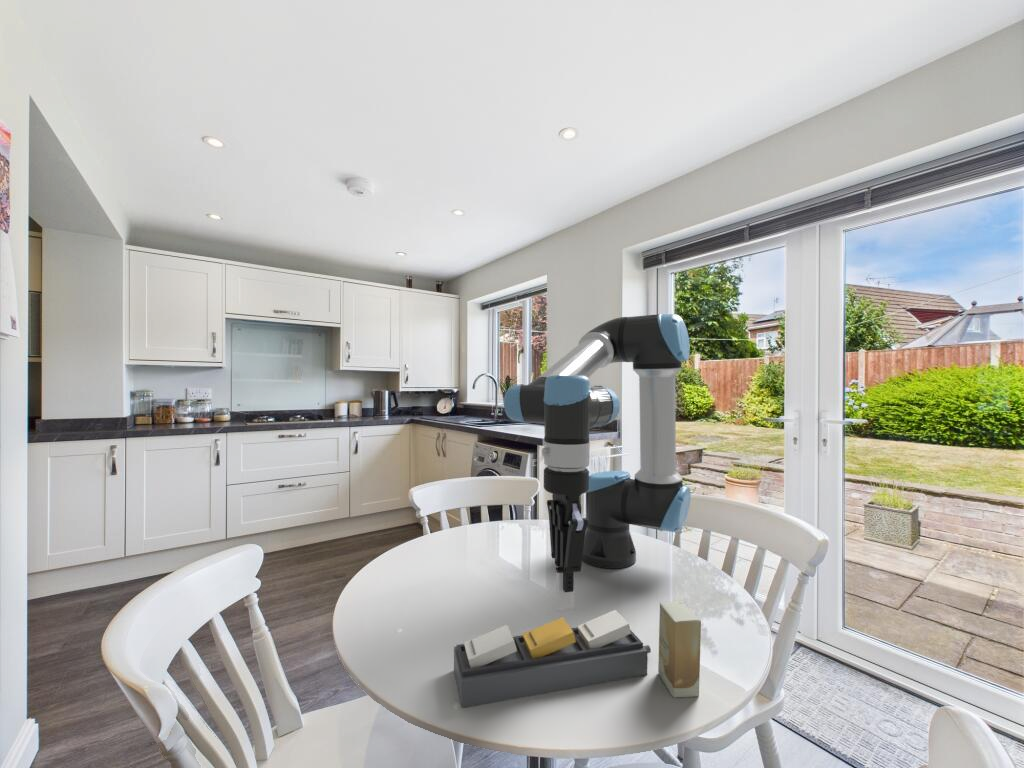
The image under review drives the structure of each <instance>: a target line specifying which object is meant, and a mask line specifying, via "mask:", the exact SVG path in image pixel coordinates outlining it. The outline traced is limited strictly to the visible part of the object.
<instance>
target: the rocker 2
mask: <svg viewBox="0 0 1024 768" xmlns="http://www.w3.org/2000/svg"><path fill="white" fill-rule="evenodd" d="M577 627H578V631H579V635H580V637H581V638H582V639H583V641H584V642H585V644H586V645H587V647H588V648H589V649H595V648H600V647H602V646H604V645H607V644H609V643H611V642H613V641H616V640H618V639H620V638H622V637H625V636H627V635H629V634H631V631H632V630H631V628H630V623H628V621H627V620H626V619H625V618H624V617H623V615H621V614H620V613H619V612H618V610H616V609H614V610H611V611H609V612H606V613H604V614H602V615H600V616H598V617H595V618H592V619H591V620H590V619H589V620H588V621H585V622H584V623H582V624H579V625H577ZM577 627H576V628H577ZM630 630H631V631H630Z"/></svg>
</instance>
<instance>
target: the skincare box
mask: <svg viewBox="0 0 1024 768" xmlns="http://www.w3.org/2000/svg"><path fill="white" fill-rule="evenodd" d="M658 622H659V628H658V634H659V635H658V662H657V663H658V664H657V667H658V669H657V670H658V671H657V672H658V675H659V676H660V678H661V680H662V682H663V683H664V684H665V687H666V688H667V690H668V691H669V693H670V694H671V696H672V697H673V698H691V697H699V696H700V679H701V678H700V670H701V639H702V638H701V637H702V636H701V635H702V633H701V632H702V620H701V619H700V618H699V616H697V614H696V613H695V612H694V610H693V609H691V608H690V606H688V604H687V603H686V602H685V601H684V600H677V601H676V600H674V601H660V602H659V621H658Z"/></svg>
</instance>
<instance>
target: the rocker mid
mask: <svg viewBox="0 0 1024 768" xmlns="http://www.w3.org/2000/svg"><path fill="white" fill-rule="evenodd" d="M522 635H523V638H524V642H525V645H526V647H527V649H528V651H529V653H530V655H531V657H532V658H538V657H543V656H545V655H547V654H550V653H552V652H554V651H557V650H559V649H561V648H563V647H566V646H568V645H570V644H573V643H575V642H576V640H575V636H574V632H573V631H572V629H571V626H570V625H569V624H568V622H567V620H566V619H565V618H564V617H563V616H561V617H560V618H556V619H554V620H552V621H550V622H547V623H545V624H543V625H541V626H538V627H536V628H533V629H531V630H528V631H526V632H524V633H522ZM522 635H521V636H522Z"/></svg>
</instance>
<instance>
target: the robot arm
mask: <svg viewBox="0 0 1024 768" xmlns="http://www.w3.org/2000/svg"><path fill="white" fill-rule="evenodd" d="M690 346H691V345H690V338H689V332H688V329H687V326H686V323H685V322H684V320H683V318H682V317H681V316H680V315H679V314H675V313H660V314H659V313H658V314H657V313H656V314H648V315H636V316H635V315H634V316H621V317H617V318H613V319H610V320H608V321H605V322H604V323H602V324H601V323H600V325H597V326H595V327H594V328H592V329H591V330H589V331H588V332H586V333H585V334H584V335H583V336H581V338H580V339H579V341H578V344H577V346H575V347H573V349H571V350H570V351H568V353H567V354H565V355H564V356H563V357H561V358H560V359H559V360H558V361H556V362H555V363H554V364H553V365H551V367H549V368H548V369H547V370H544V372H543V373H541V374H540V375H539V376H538V377H537V378H535V379H534V380H533V381H532V382H530V383H528V384H516V385H515V384H514V385H512V386H510V387H509V388H508V389H507V390H506V392H505V394H504V397H503V408H504V413H505V414H506V416H507V418H508V419H510V420H512V421H514V422H521V423H524V424H527V423H530V424H531V423H532V424H544V438H543V439H544V441H543V442H544V443H543V445H544V447H543V448H541V453H542V454H543V464H545V466H546V467H545V468H544V469H543V489H544V490H545V491H546V492H547V493H549V494H551V495H552V496H551V498H552V499H547V500H546V506H547V512H548V524H549V536H550V537H549V539H550V542H549V543H550V551H551V552H550V555H551V558H552V559H554V566H555V571H556V572H555V573H556V574H555V576H556V577H555V607H556V608H557V609H558V611H565V610H574V609H575V578H576V577H575V575H576V574H575V573H580V572H581V570H582V563H583V562H584V563H586V564H589V565H591V566H594V567H598V568H605V569H623V568H628V567H631V566H632V565H634V564H635V563H636V561H637V551H636V547H635V544H634V541H633V538H632V535H631V532H630V525H632V526H638V527H642V528H646V529H652V530H657V531H660V532H670V533H677V532H679V531H681V530H682V528H683V527H684V525H685V523H686V520H687V518H688V515H689V510H690V504H691V495H692V494H691V488H690V487H689V486H687V485H686V484H685V485H684V484H683V476H682V475H681V474H680V473H679V472H678V471H677V467H676V466H677V461H676V460H677V458H676V457H677V450H676V449H677V447H676V446H677V445H676V438H677V437H676V436H677V435H676V433H677V432H676V375H677V374H678V373H679V372H680V371H681V370H682V366H683V365H682V363H684V362H687V361H688V360H689V359H690V350H691V348H690ZM612 363H632V370H633V372H634V373H636V374H637V375H638V381H639V384H638V385H639V445H640V448H639V451H640V457H639V458H640V460H639V461H640V462H639V463H640V466H639V467H640V469H639V470H638V471H637V472H636V473H635V474H634V479H633V478H631V475H630V472H629V471H625V470H607V471H600V472H594V473H592V474H590V471H589V470H588V468H587V467H589V466H590V451H591V450H590V429H591V428H597V427H599V428H600V427H601V428H603V426H606V425H608V424H611V423H612V422H614V421H615V420H616V418H617V417H618V415H619V412H620V408H621V406H620V405H621V403H620V400H619V397H618V395H617V393H616V392H614V390H612V389H611V388H609V387H607V386H603V385H591V384H590V379H589V378H591V376H592V375H593V374H594V373H596V371H597V370H598V369H603V368H606V367H607V366H608V365H610V364H612ZM583 494H585V517H582V515H581V514H582V504H581V498H580V496H581V495H583Z"/></svg>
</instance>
